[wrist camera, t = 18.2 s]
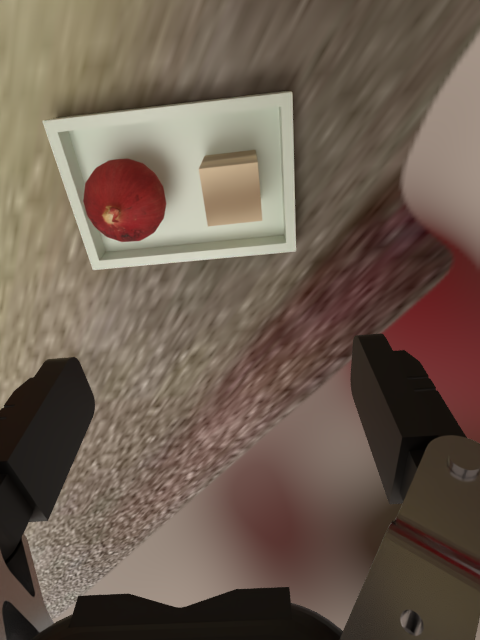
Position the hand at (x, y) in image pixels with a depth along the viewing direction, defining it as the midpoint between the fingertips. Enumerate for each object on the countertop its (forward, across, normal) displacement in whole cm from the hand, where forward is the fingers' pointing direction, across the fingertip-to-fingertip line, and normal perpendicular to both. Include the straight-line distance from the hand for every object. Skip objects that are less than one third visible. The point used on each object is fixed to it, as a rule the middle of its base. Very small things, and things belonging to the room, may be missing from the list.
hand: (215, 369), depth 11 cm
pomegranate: (+24, +8, 0) cm, 25 cm away
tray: (+24, +4, 0) cm, 24 cm away
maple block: (+24, 0, 0) cm, 24 cm away
